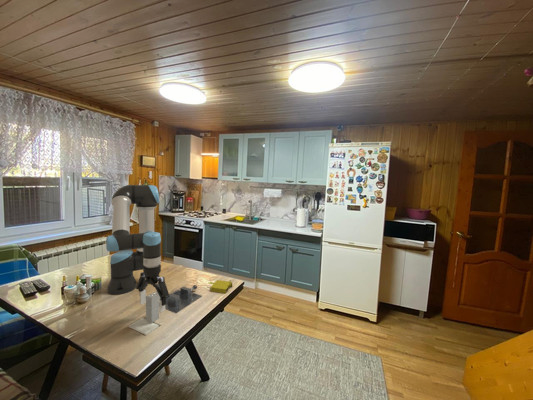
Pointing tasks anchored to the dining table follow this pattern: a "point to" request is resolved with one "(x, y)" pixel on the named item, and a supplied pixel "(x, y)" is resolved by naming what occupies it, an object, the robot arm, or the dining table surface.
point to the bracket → (220, 286)
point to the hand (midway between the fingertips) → (152, 307)
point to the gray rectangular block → (152, 307)
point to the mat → (144, 326)
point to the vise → (181, 299)
